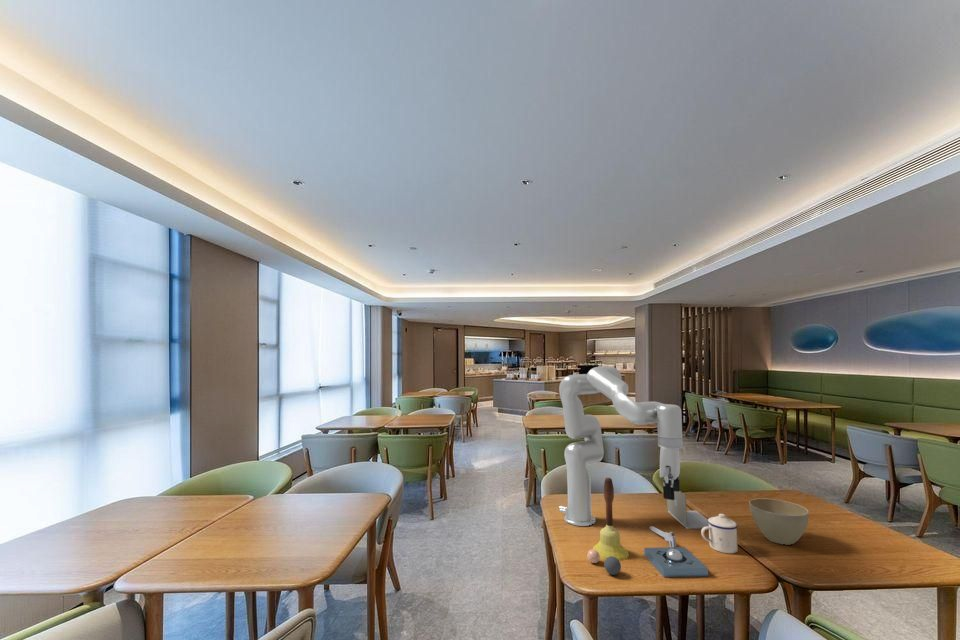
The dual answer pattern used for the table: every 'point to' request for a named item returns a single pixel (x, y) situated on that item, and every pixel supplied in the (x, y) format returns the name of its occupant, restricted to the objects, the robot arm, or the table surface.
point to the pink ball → (593, 556)
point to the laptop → (685, 512)
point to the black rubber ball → (612, 565)
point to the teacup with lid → (721, 534)
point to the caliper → (665, 536)
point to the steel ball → (674, 556)
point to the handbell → (610, 530)
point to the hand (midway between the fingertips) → (671, 494)
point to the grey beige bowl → (779, 519)
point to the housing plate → (672, 569)
